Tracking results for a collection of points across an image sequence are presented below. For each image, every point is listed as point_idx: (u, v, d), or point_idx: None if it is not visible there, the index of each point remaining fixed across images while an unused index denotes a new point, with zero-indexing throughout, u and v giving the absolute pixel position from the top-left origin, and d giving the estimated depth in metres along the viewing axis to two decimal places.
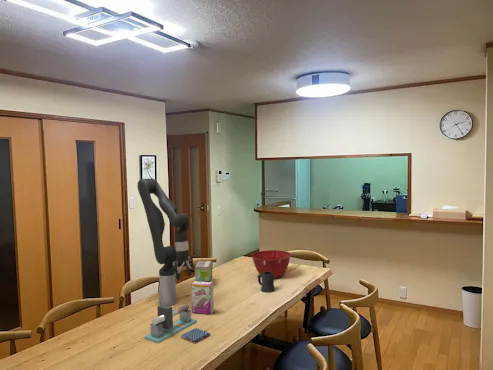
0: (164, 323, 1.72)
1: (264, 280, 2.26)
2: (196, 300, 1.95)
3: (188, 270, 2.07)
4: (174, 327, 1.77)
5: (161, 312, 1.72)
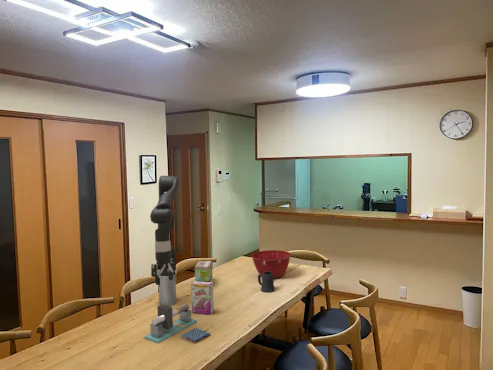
0: (164, 323, 1.72)
1: (264, 280, 2.26)
2: (196, 300, 1.95)
3: (170, 274, 1.81)
4: (174, 327, 1.77)
5: (161, 312, 1.72)
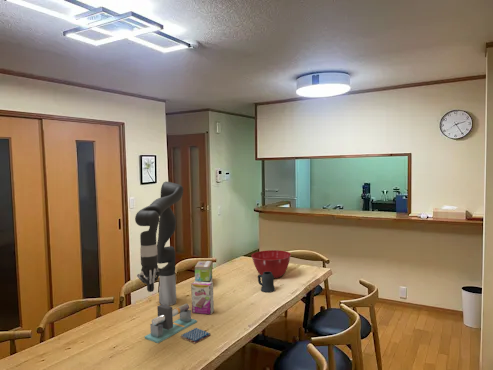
0: (164, 323, 1.72)
1: (264, 280, 2.26)
2: (196, 300, 1.95)
3: None
4: (174, 327, 1.77)
5: (161, 312, 1.72)
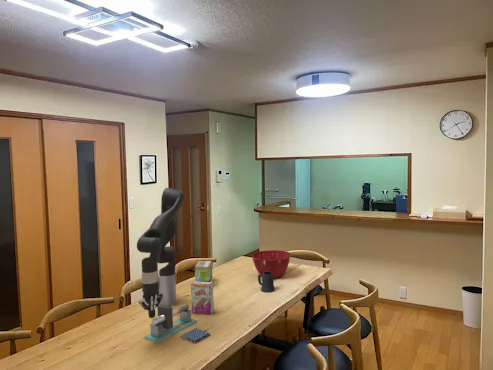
0: (164, 323, 1.72)
1: (264, 280, 2.26)
2: (196, 300, 1.95)
3: None
4: (174, 327, 1.77)
5: (161, 312, 1.72)
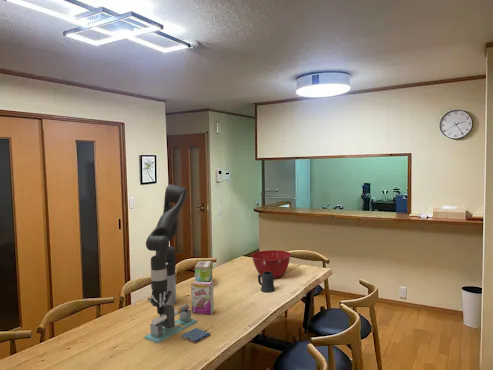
0: (166, 322, 1.73)
1: (264, 280, 2.26)
2: (196, 300, 1.95)
3: None
4: (174, 327, 1.77)
5: None
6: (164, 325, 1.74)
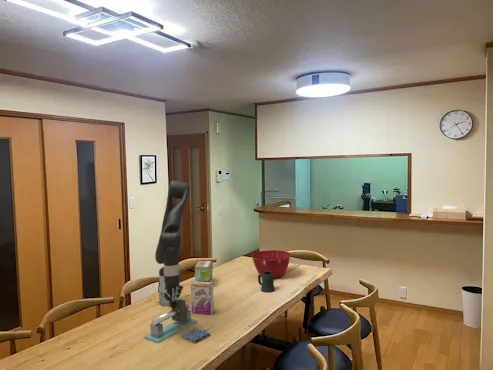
0: (178, 316, 1.79)
1: (264, 280, 2.26)
2: (196, 300, 1.95)
3: None
4: (174, 327, 1.77)
5: None
6: (176, 319, 1.80)
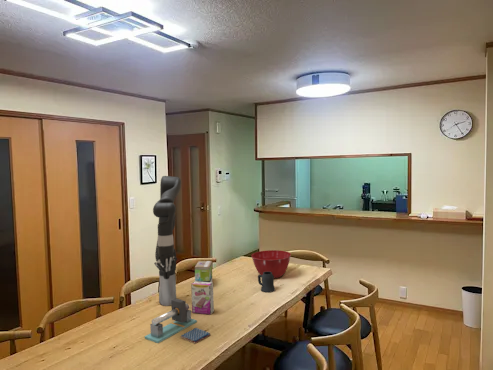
0: (178, 316, 1.79)
1: (264, 280, 2.26)
2: (196, 300, 1.95)
3: None
4: (174, 327, 1.77)
5: (175, 306, 1.80)
6: (176, 319, 1.80)
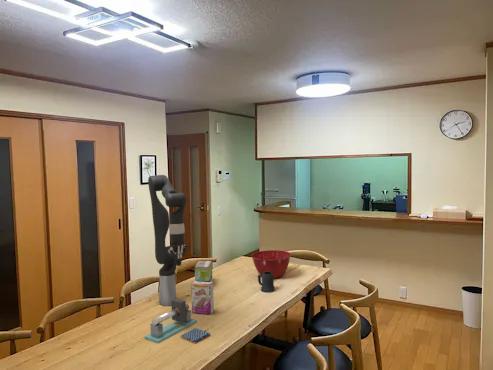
0: (178, 316, 1.79)
1: (264, 280, 2.26)
2: (196, 300, 1.95)
3: None
4: (174, 327, 1.77)
5: (175, 306, 1.80)
6: (176, 319, 1.80)
